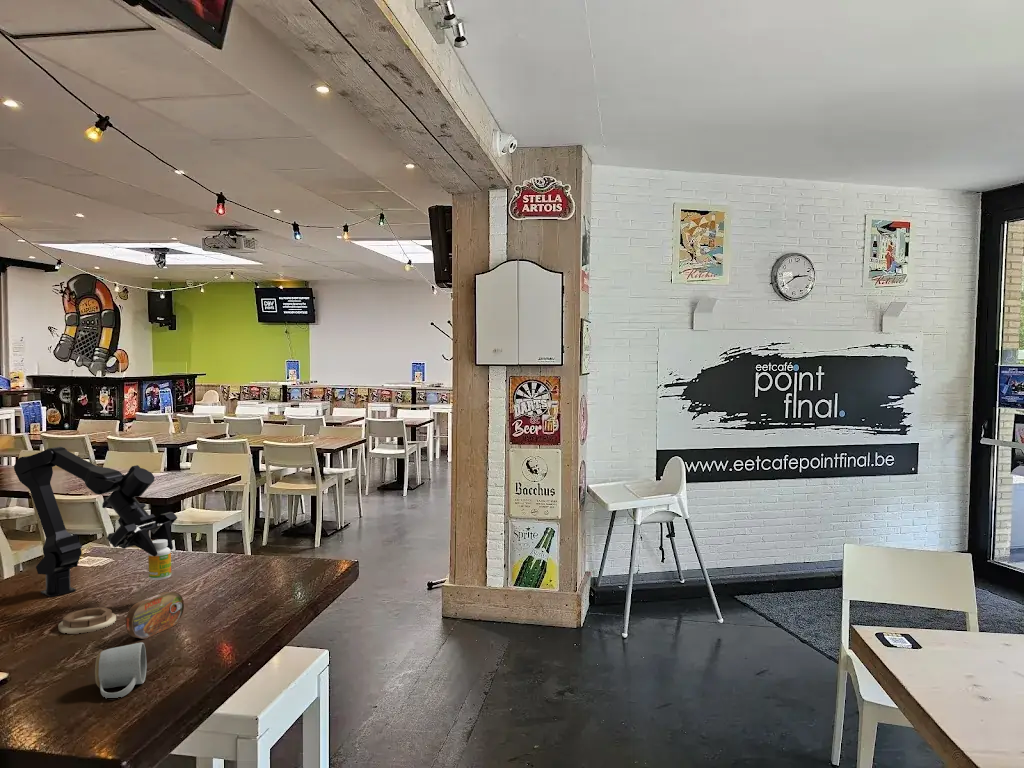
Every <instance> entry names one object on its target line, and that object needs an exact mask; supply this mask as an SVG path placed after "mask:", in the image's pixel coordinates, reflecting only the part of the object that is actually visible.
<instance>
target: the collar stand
mask: <svg viewBox="0 0 1024 768" xmlns="http://www.w3.org/2000/svg"><path fill="white" fill-rule="evenodd" d="M115 621H117V615H116V613H113V611H112V609H110V608H107V607H105V606H101V607H87V608H83V609H79V610H75V611H71V612H69V613H67V614H66V615H65V616H64V617H62V621H60V622H59V623H58V631H59V633H62V634H65V633H67V635H68V634H69V635H78V634H79V633H81V634H87V632H88V633H93V632H97V631H101V630H104V629H106V628H108V626H109V627H111V626H113V625H114V624H115V623H116V622H115ZM113 623H114V624H113ZM110 625H111V626H110ZM105 627H106V628H105ZM103 628H104V629H103ZM100 629H101V630H100ZM96 630H97V631H96ZM79 635H80V634H79Z"/></svg>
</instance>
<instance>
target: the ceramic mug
mask: <svg viewBox="0 0 1024 768" xmlns="http://www.w3.org/2000/svg"><path fill="white" fill-rule="evenodd" d="M94 677H95V684H96V686H97V687H98V688H99V690H100V694H101V696H102V697H103V698H104V697H105V699H107V698H118V697H121V698H124V697H125V696H127V695H129V694H130V692H132V691H133V689H134V687H135V685H136V686H137V685H142V684H144V682H145V681H146V677H147V652H146V646H145V643H144V642H137V643H132V644H126V645H121V646H116V647H110V648H107V649H104V650H101V651H99V652H98V653H97V655H96V658H95V667H94ZM118 687H119V688H120V687H125V688H123V689H122V690H119V691H114V692H107V691H105V690H104V689H113V688H118ZM118 699H119V698H118Z"/></svg>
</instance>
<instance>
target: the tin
mask: <svg viewBox="0 0 1024 768" xmlns="http://www.w3.org/2000/svg"><path fill="white" fill-rule="evenodd" d="M184 609H185V602H184V598H183V596H182V595H181V594H180V593H179V592H177V591H164V592H161V593H158V594H156V595H154V596H150V597H148V598H146V599H143V600H140V601H138V602H136V603H134V604H133V605H132V606H131V607H130V608H129V610H128V611H127V613H126V616H125V629H126V632H127V634H128V635H129V636H130V637H132V638H136V639H142V640H144V639H146V640H147V639H148V637H149V638H151V637H153V636H156V635H157V633H158V634H159V633H161V632H164V631H166V630H168V629H170V628H173V627H174V626H176V625H177V624H178V623H179V622H180V620H181V619H182V616H183V614H184Z"/></svg>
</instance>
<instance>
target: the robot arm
mask: <svg viewBox="0 0 1024 768" xmlns="http://www.w3.org/2000/svg"><path fill="white" fill-rule="evenodd" d="M55 466H57V468H60V469H62V470H63V471H65V472H68V473H69V474H71V475H73V476H74V477H77V478H79V479H80V480H82V481H83V483H84V485H85V486H86V488H88V489H89V490H90V491H91V492H93V493H94V494H95V495H104V494H109V493H111V494H109V495H108V496H106V497H103V502H102V508H103V509H106V508H110V507H111V508H112V509H113V510H114V511H115V513H116V514H117V516H118V517H119V518H118V520H117V523H118V525H119V526H118V528H117V529H116V530H115V532H114V531H113V532H111V533H108V535H107V537H106V540H108V542H109V544H111V545H112V547H114V548H117V547H120V548H122V549H123V550H125V549H127V548H129V547H134V546H135V547H137V548H139V549H141V550H143V551H144V552H146V553H149V554H151V555H152V556H156V555H157V551H156V548H155V546H154V544H153V542H152V541H153V540H152V539H151V538H153V539H156V540H159V539H166V540H168V546H167V547H168V548H170V550H171V551H172V550H173V549H174V545H173V540H172V533H171V526H172V525H173V524H174V523H175V522H176V521H177V519H178V516H177V515H176V514H175V513H174V512H173V511H169V512H165V513H161V514H159V516H157V518H156V516H155V514H153V513H152V514H149V513H148V512H147V510H146V509H145V507H146V506H147V505H146V504H145V503H144V502H142V503H140V502H139V500H138V499H137V498H140V497H142V496H143V494H144V493H145V492H146V491H147V489H149V488H150V486H151V485H152V484H153V483H154V482H155V481H156V480H155V476H154V475H153V473H152V471H149V470H147V469H145V468H143V467H141V466H140V465H137V464H136V465H131V467H130V468H129V469H128V471H127V472H126V474H123V473H122V472H121V471H119V470H116V469H114V468H110V467H104V466H103V467H102V466H98V465H95V464H94V463H92V462H90V461H87V460H86V459H84V458H82V457H81V456H78V455H76V454H74V453H72V452H71V451H68V450H67V449H66V448H65V447H63V446H57V447H50V448H49V447H48V448H47V449H44V450H42V451H40V452H37V453H35V454H31V455H26V456H20V457H18V458H17V459H16V461H15V463H14V464H13V470H14V473H15V474H16V477H17V479H18V480H19V482H20V483H21V484H22V485H24V486H25V487H26V488H28V490H29V493H30V495H31V498H32V501H33V504H34V507H35V510H36V513H37V515H38V518H39V522H40V524H41V527H42V530H43V533H44V536H45V540H44V544H43V547H42V551H43V556H44V557H43V558H42V559H41V560H40V561H39V562H38V563H37V565H36V566H35V568H36V571H37V574H38V575H45V589H43V590H41V591H40V594H42V595H45V596H46V597H47V596H48V597H49V598H53V597H56V596H61V595H64V594H68V593H72V592H76V591H77V589H76V588H74V587H72V586H71V569H72V568H76V567H78V564H79V562H80V559H81V556H82V548H83V546H82V544H81V542H80V539H79V536H78V534H77V533H76V534H71V533H70V532H68V531H67V528H66V526H65V522H64V520H63V517H62V514H61V511H60V508H59V505H58V503H57V499H56V497H55V493H54V490H53V487H52V485H51V481H52V478H53V474H54V471H53V468H54V467H55ZM155 518H156V519H155ZM148 531H150V532H151V533H152V536H151V537H150V535H149V533H148Z"/></svg>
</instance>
